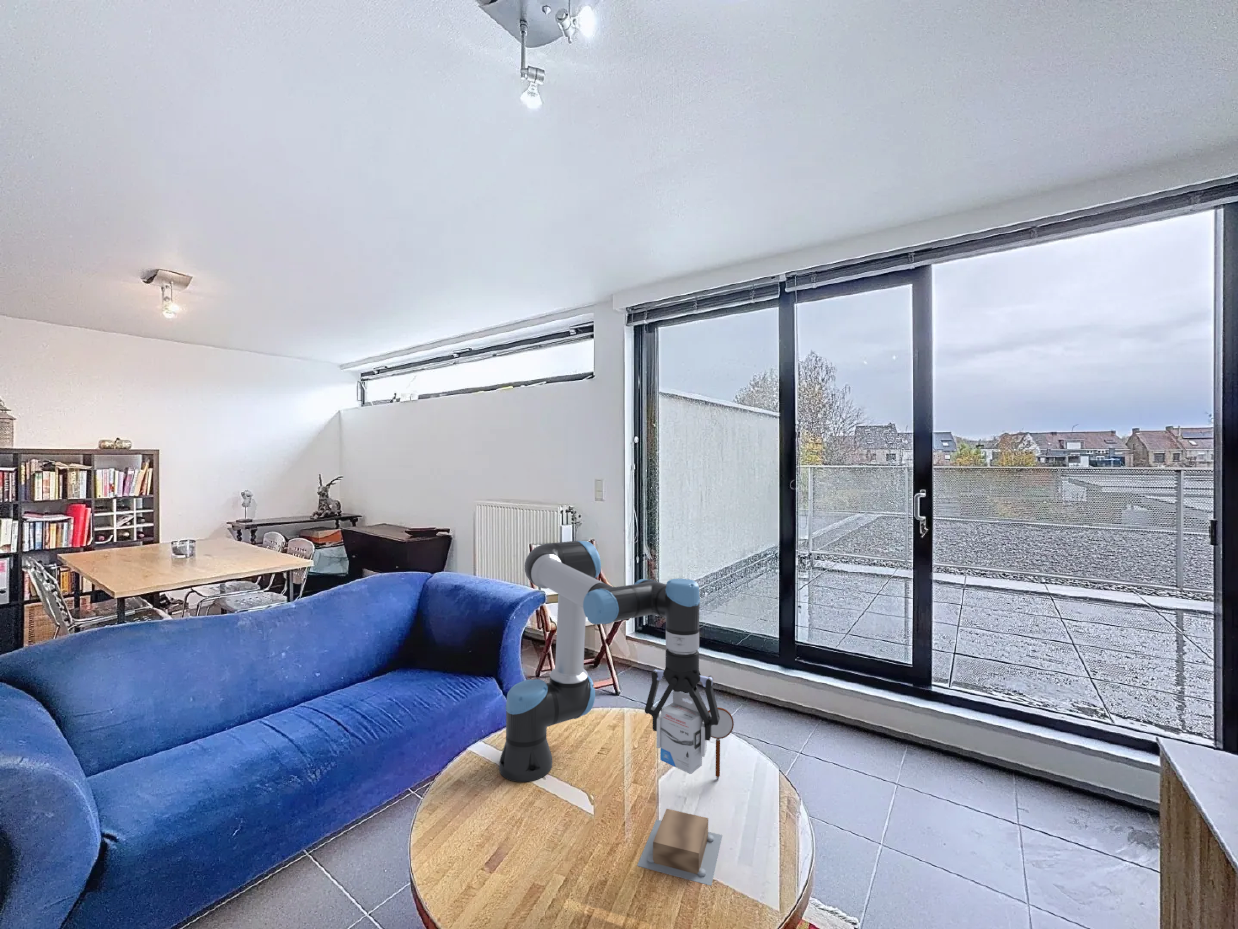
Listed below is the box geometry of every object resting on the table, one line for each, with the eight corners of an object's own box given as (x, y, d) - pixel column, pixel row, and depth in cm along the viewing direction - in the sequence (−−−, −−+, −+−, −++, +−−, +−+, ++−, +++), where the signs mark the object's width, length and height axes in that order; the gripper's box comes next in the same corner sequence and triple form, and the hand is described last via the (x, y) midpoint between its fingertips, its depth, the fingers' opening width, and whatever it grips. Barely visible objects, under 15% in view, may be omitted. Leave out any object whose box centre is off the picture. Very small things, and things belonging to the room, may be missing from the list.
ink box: (659, 760, 120) (659, 695, 120) (672, 752, 123) (672, 688, 124) (690, 775, 114) (691, 706, 114) (703, 766, 118) (703, 699, 118)
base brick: (652, 862, 115) (653, 842, 115) (666, 827, 126) (666, 808, 126) (698, 874, 111) (698, 853, 111) (708, 837, 123) (708, 818, 123)
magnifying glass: (732, 778, 149) (733, 706, 149) (733, 781, 147) (734, 709, 147) (701, 777, 149) (702, 705, 149) (702, 780, 147) (703, 708, 148)
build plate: (636, 871, 114) (637, 863, 114) (656, 824, 129) (656, 817, 129) (711, 891, 108) (711, 883, 108) (722, 840, 124) (722, 833, 124)
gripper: (630, 648, 119) (629, 748, 119) (729, 661, 112) (728, 767, 112) (640, 638, 126) (639, 733, 126) (734, 650, 119) (733, 750, 119)
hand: (681, 749), depth 119 cm, fingers closed on ink box, 9 cm apart
